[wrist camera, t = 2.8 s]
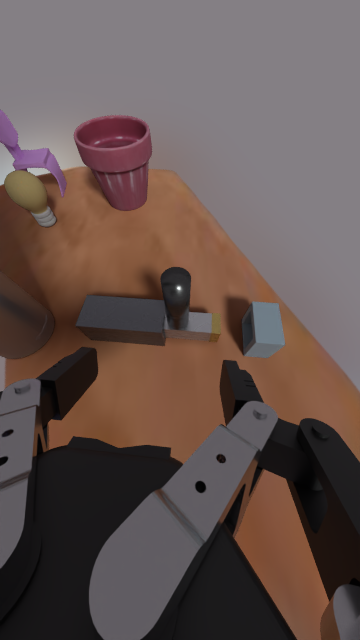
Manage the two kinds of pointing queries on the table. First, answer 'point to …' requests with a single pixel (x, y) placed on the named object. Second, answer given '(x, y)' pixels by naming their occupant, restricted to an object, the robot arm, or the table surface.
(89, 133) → the plant pot
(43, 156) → the toy chair
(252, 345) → the socket
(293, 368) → the table surface
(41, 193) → the light bulb
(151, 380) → the table surface
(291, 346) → the table surface
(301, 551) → the table surface
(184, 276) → the block with knob
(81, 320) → the sleeve
